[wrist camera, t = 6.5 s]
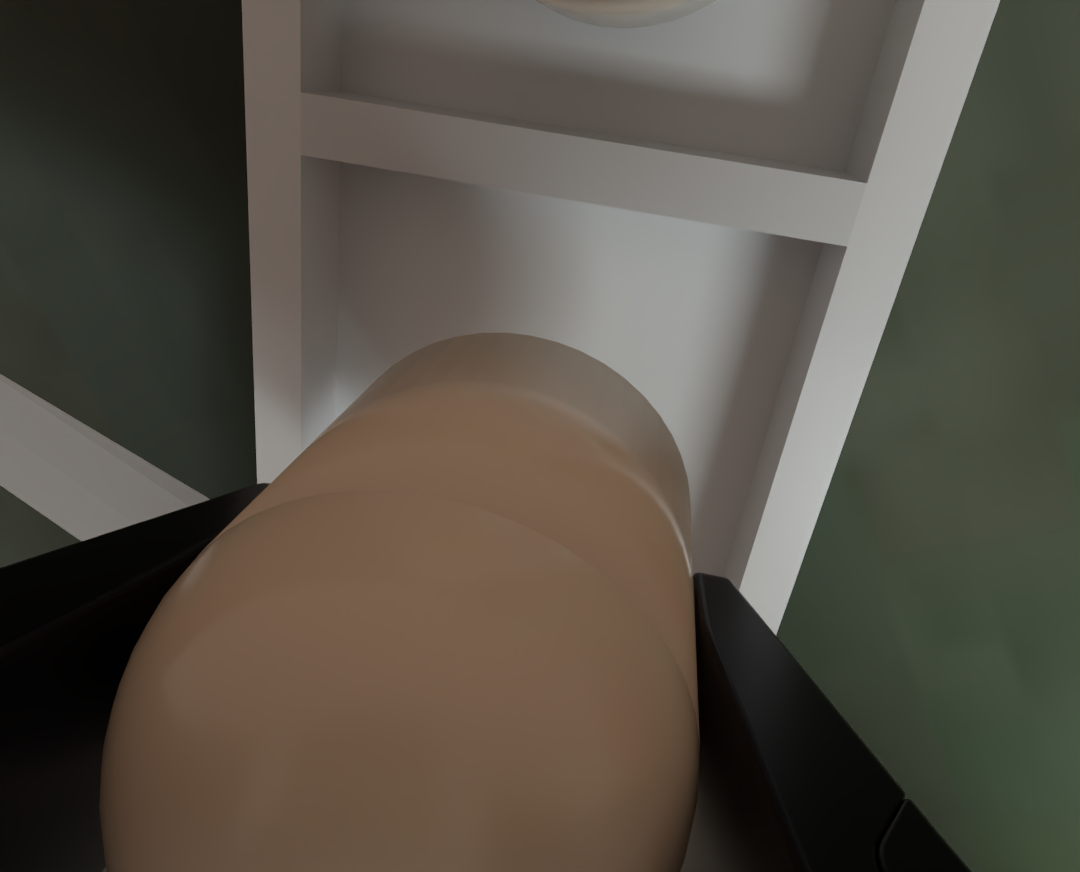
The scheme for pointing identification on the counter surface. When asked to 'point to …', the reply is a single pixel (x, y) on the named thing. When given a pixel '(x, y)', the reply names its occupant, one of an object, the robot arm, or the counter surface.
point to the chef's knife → (78, 470)
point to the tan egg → (430, 642)
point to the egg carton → (604, 218)
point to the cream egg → (625, 11)
